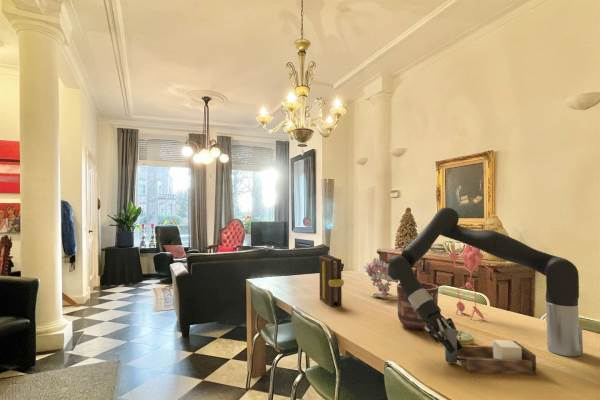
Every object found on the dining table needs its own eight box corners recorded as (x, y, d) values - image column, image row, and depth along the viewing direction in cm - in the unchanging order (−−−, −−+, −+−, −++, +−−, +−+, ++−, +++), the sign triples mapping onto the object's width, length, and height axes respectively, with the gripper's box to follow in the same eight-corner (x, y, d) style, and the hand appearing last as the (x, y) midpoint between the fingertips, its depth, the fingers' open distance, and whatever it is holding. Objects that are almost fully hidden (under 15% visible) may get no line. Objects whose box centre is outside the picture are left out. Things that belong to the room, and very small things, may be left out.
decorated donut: (455, 336, 139) (455, 326, 139) (480, 345, 130) (479, 335, 130) (437, 340, 134) (437, 330, 135) (461, 350, 125) (461, 339, 125)
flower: (414, 296, 200) (402, 255, 212) (385, 296, 189) (374, 254, 201) (390, 304, 215) (380, 266, 227) (363, 305, 204) (354, 265, 216)
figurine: (484, 325, 152) (483, 246, 154) (442, 310, 176) (442, 242, 178) (510, 322, 157) (508, 245, 159) (466, 308, 181) (465, 241, 183)
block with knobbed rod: (512, 359, 114) (511, 328, 114) (522, 367, 108) (521, 335, 108) (442, 356, 116) (442, 326, 117) (448, 364, 110) (447, 332, 111)
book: (316, 298, 202) (316, 255, 203) (330, 297, 205) (329, 255, 206) (331, 308, 181) (330, 260, 182) (345, 306, 184) (345, 259, 185)
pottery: (443, 334, 140) (442, 290, 141) (398, 331, 144) (398, 288, 145) (435, 321, 158) (434, 282, 159) (395, 319, 161) (395, 281, 162)
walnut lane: (515, 358, 117) (515, 341, 117) (536, 375, 105) (535, 355, 105) (454, 356, 119) (454, 339, 119) (468, 372, 107) (467, 352, 107)
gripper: (429, 307, 128) (461, 351, 118) (405, 313, 120) (436, 361, 110) (442, 295, 124) (476, 340, 113) (417, 301, 116) (451, 349, 106)
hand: (456, 350), depth 112 cm, fingers closed on block with knobbed rod, 3 cm apart
